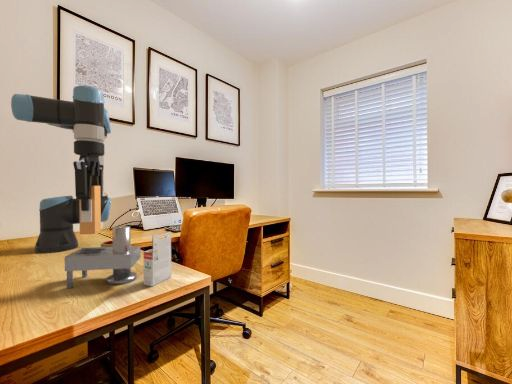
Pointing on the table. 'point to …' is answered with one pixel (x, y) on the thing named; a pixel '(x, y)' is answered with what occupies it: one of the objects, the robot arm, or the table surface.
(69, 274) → the legged grey stand
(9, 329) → the table surface
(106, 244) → the mug
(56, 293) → the table surface
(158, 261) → the ink box
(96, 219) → the orange rectangular prism
